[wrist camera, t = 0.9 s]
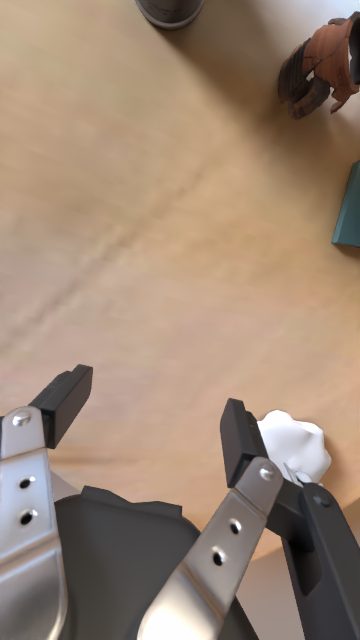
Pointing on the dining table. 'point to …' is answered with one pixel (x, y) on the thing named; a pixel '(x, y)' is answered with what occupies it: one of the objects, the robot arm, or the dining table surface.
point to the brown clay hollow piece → (322, 68)
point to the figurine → (295, 447)
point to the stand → (350, 212)
